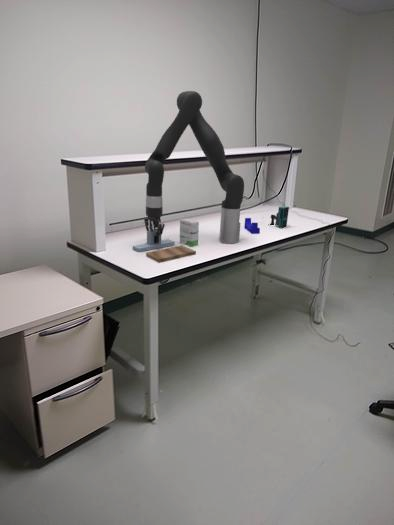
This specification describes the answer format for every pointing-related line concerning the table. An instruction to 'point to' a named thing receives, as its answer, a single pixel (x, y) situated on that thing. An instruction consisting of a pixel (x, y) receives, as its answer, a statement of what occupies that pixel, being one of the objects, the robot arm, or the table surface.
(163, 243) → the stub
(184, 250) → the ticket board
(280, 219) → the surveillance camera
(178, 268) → the table surface
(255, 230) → the blue bent block
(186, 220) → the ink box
